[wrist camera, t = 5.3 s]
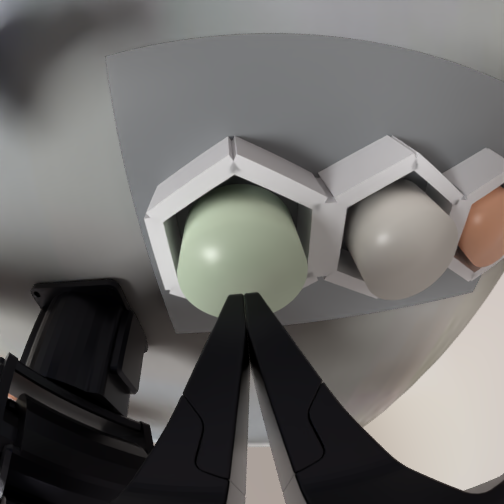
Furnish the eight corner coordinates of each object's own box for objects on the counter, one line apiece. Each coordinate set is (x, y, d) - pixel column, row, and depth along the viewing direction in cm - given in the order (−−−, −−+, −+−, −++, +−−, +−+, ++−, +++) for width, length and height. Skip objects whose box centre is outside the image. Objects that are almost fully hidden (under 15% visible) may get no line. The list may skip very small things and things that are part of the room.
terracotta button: (435, 241, 13) (458, 271, 12) (455, 171, 11) (487, 197, 9) (482, 236, 14) (504, 262, 12) (502, 176, 11) (531, 198, 9)
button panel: (178, 313, 17) (173, 363, 14) (119, 55, 9) (80, 59, 6) (462, 278, 18) (485, 312, 15) (517, 90, 9) (562, 111, 7)
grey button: (336, 264, 12) (354, 306, 11) (349, 178, 10) (378, 213, 8) (413, 256, 13) (437, 292, 11) (436, 179, 10) (471, 209, 8)
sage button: (193, 277, 12) (190, 323, 10) (175, 189, 10) (164, 229, 8) (290, 269, 12) (303, 313, 10) (294, 180, 10) (312, 216, 8)
